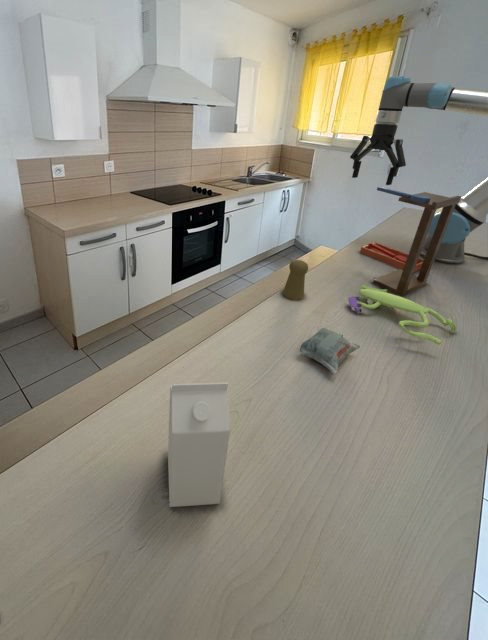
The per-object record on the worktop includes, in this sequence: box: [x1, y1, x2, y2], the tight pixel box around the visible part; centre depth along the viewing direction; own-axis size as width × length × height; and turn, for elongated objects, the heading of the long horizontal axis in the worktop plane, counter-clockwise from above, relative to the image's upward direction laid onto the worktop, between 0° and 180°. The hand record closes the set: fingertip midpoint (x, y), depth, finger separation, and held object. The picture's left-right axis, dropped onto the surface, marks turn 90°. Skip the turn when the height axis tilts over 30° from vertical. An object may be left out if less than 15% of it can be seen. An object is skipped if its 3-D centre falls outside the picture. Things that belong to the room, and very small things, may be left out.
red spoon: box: [368, 242, 407, 263], centre depth 123 cm, size 15×4×1 cm, turn 33°
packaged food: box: [299, 327, 361, 376], centre depth 72 cm, size 9×12×5 cm
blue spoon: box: [376, 186, 431, 203], centre depth 95 cm, size 15×4×1 cm, turn 25°
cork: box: [282, 259, 309, 301], centre depth 95 cm, size 6×6×11 cm
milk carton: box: [167, 382, 231, 508], centre depth 44 cm, size 7×7×19 cm
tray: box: [359, 242, 424, 273], centre depth 123 cm, size 19×10×3 cm, turn 33°
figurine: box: [347, 284, 457, 346], centre depth 87 cm, size 18×27×6 cm
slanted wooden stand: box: [372, 191, 462, 298], centre depth 100 cm, size 10×16×30 cm, turn 123°
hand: (370, 181), depth 126 cm, fingers open, 13 cm apart
